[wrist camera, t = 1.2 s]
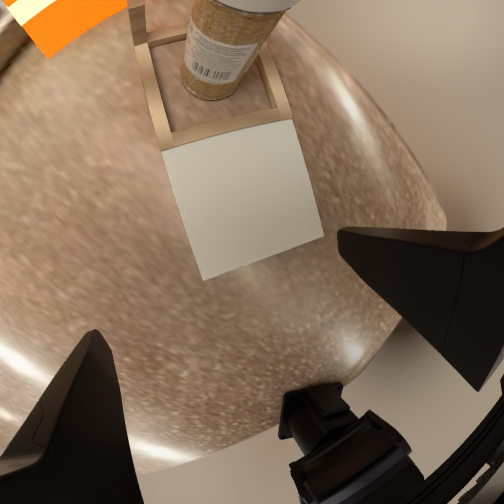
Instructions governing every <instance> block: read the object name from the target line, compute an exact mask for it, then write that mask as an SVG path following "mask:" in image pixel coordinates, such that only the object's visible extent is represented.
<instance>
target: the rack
mask: <svg viewBox="0 0 504 504" xmlns="http://www.w3.org/2000/svg"><path fill="white" fill-rule="evenodd" d="M127 6H128V13H129V19H130V25H131V31H132V37H133V43H134V48H135V52H136V57H137V61H138V66H139V70H140V74H141V78H142V83H143V87H144V91H145V95H146V99H147V103H148V107H149V111H150V114H151V118H152V122H153V126H154V129H155V133H156V137H157V140H158V144H159V147H160V151H161V152H162V151H165V150H168V149H171V148H175V147H178V146H181V145H184V144H188V143H191V142H195V141H198V140H202V139H205V138H209V137H212V136H216V135H220V134H224V133H228V132H232V131H236V130H240V129H244V128H249V127H253V126H258V125H262V124H267V123H272V122H277V121H282V120H288V119H292V118H293V115H292V111H291V108H290V105H289V102H288V99H287V97H286V94H285V91H284V88H283V85H282V82H281V79H280V77H279V74H278V71H277V68H276V66H275V63H274V60H273V58H272V55H271V52H270V50H269V47H268V45H267V42H266V41H265V43H264V44H263V45H262V48H261V50H260V52H259V53H258V55H257V56H256V58H255V60H256V63H257V65H258V68H259V71H260V74H261V77H262V79H263V82H264V85H265V88H266V91H267V94H268V97H269V100H270V103H271V106H272V109H267V110H262V111H257V112H252V113H247V114H242V115H238V116H233V117H229V118H225V119H220V120H216V121H212V122H208V123H205V124H201V125H197V126H194V127H190V128H186V129H183V130H180V131H176V132H173V133H171V131H170V128H169V124H168V120H167V117H166V113H165V110H164V106H163V102H162V99H161V95H160V91H159V87H158V83H157V79H156V76H155V72H154V68H153V64H152V60H151V56H150V51H149V48H152V47H155V46H159V45H163V44H167V43H171V42H176V41H180V40H185V39H187V33H188V27H189V23H188V24H183V25H178V26H173V27H168V28H164V29H160V30H156V31H152V32H148V33H146V20H145V5H144V0H127Z"/></svg>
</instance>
